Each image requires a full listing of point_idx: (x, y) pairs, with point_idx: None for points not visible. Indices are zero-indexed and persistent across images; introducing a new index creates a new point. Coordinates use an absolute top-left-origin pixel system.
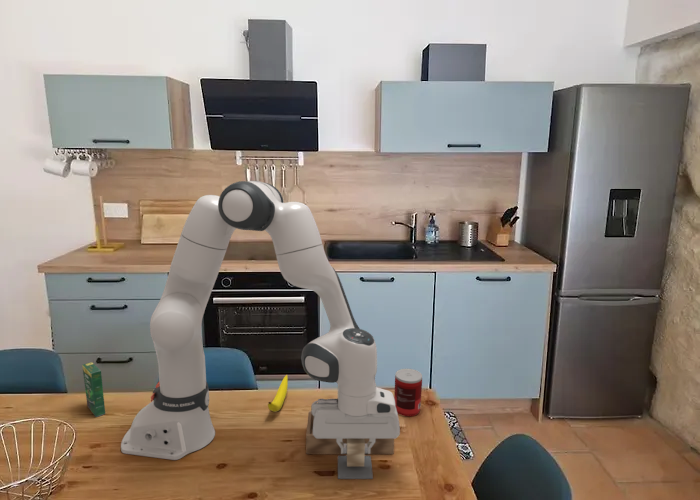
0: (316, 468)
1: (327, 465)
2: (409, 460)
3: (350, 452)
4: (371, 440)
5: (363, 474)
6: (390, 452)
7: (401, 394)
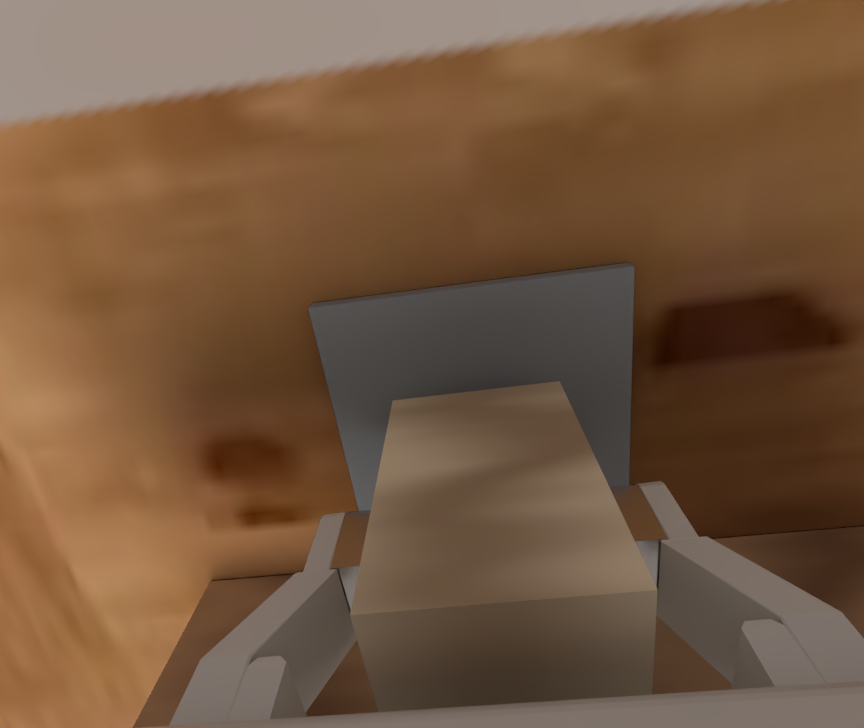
0: (817, 375)
1: (714, 421)
2: (82, 535)
3: (560, 482)
4: (251, 680)
5: (397, 335)
6: (227, 590)
7: None
